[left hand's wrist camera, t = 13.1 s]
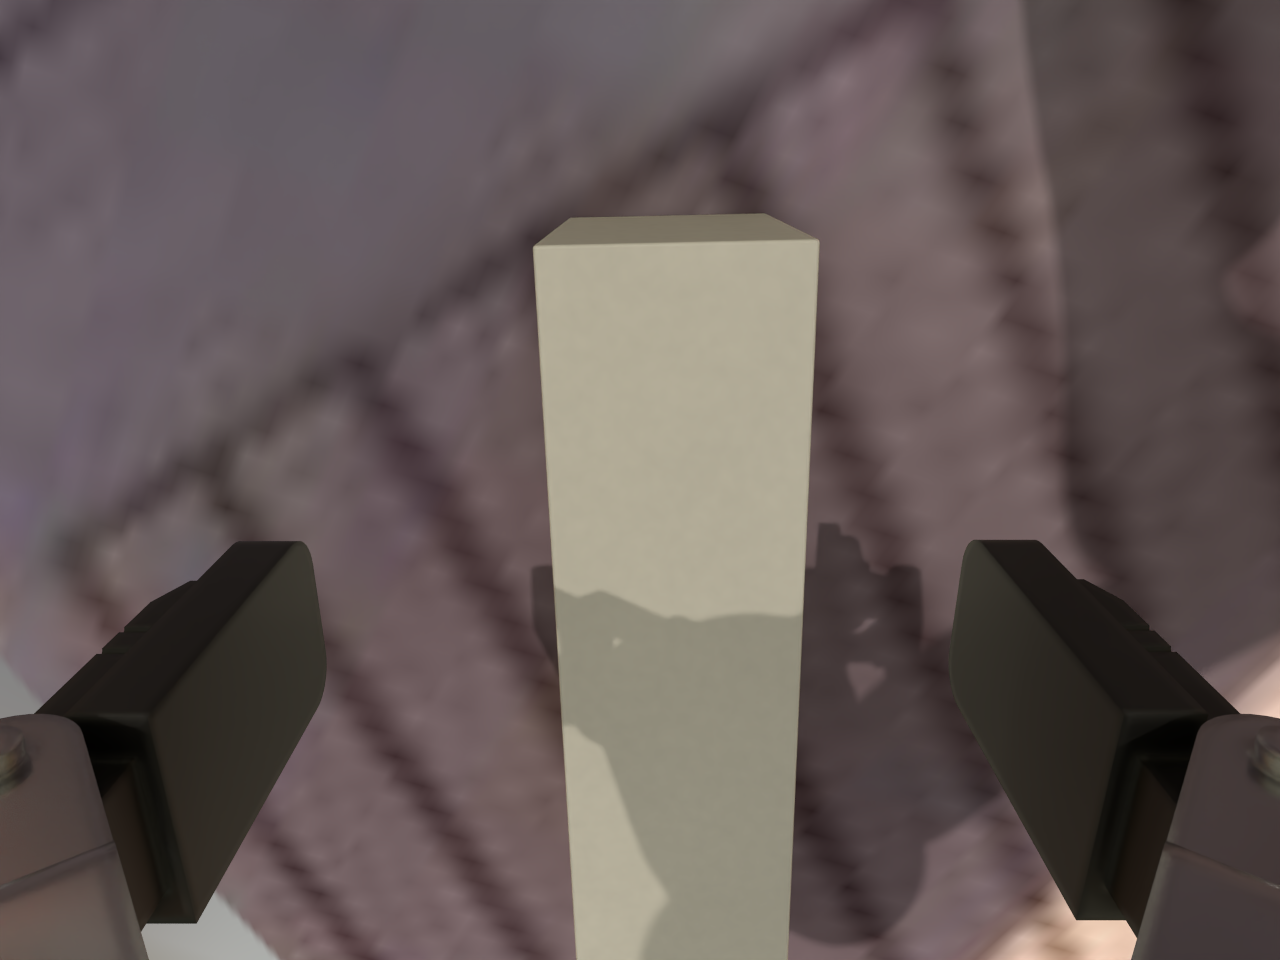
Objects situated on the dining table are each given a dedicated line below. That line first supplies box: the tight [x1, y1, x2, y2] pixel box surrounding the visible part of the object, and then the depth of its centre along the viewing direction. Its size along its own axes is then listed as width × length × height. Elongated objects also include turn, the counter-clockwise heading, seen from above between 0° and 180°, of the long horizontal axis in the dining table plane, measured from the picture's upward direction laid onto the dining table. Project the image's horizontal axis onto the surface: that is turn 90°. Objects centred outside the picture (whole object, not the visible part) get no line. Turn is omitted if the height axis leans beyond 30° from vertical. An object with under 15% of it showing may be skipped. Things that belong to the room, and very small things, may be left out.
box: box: [533, 213, 820, 960], centre depth 29 cm, size 27×6×9 cm, turn 1°
